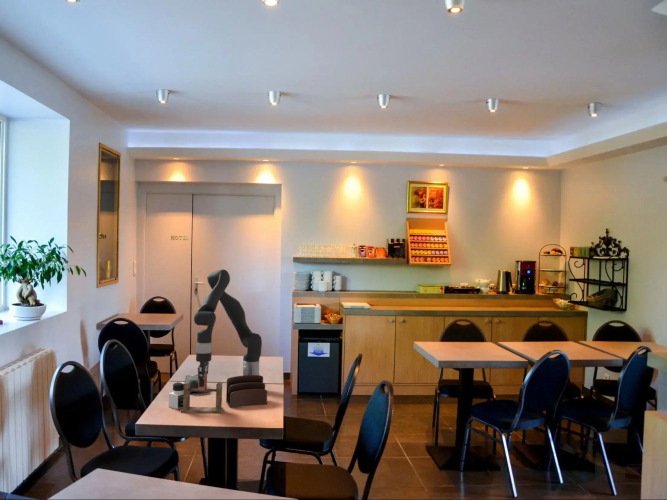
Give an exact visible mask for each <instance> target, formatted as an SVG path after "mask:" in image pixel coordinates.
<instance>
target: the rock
mask: <svg viewBox="0 0 667 500" xmlns="http://www.w3.org/2000/svg"><path fill="white" fill-rule="evenodd" d="M184 379H185V380H184V383H185V382H186V381H190V389H198V382H199V379H198V373H197V374H194V375H190V374H187V375H185V378H184ZM205 389H208V387H207V388H205ZM193 392H194V393H195V392H196V393H199V394H200V393H202V391H190V393H193Z"/></svg>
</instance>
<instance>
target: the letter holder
mask: <svg viewBox="0 0 667 500" xmlns="http://www.w3.org/2000/svg"><path fill="white" fill-rule="evenodd" d="M225 397H226V398H225V402H226V404H227V406H228V407H229V408H231V407H233V408H243V407H251V406H253V407H254V406H261V405H268V389H266V383H265V382H264V377H263V375H261V374H259V375H243V374H242V375H237V376H230V377H228V378H227V379H226V395H225Z"/></svg>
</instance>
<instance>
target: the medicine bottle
mask: <svg viewBox="0 0 667 500" xmlns="http://www.w3.org/2000/svg"><path fill="white" fill-rule="evenodd" d="M184 383H185V382H182V381H179V382H174V383H173V384H172V392H169V393H168V408H172V409H175V410H181V409H182V408H183V395H184Z"/></svg>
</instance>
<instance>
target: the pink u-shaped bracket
mask: <svg viewBox="0 0 667 500" xmlns="http://www.w3.org/2000/svg"><path fill="white" fill-rule="evenodd" d="M201 376H202V375H201ZM205 388H207V389H208V375H207V373H206V374H205V376H204V386H203V387H199V382H198V390H201V392H205V391H204V390H205Z"/></svg>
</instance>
